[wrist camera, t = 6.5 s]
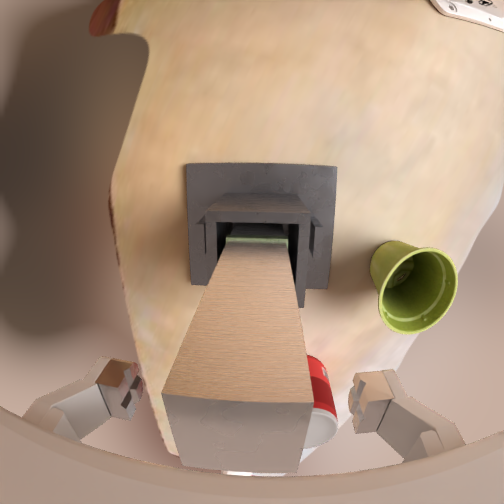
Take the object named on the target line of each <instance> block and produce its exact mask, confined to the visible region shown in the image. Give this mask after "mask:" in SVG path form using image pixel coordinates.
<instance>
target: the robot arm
mask: <svg viewBox="0 0 504 504" xmlns="http://www.w3.org/2000/svg"><path fill="white" fill-rule="evenodd" d="M430 1H431V2H432V4H433V5H434V6H435V7H436V9H437V10H438V11H439V12H440V13H442V14H443V15H446V16H450V17H454V18H459V19H463V20H466V21H470V22H474V23H477V24H481V25H484V26H487V27H490V28H493V29H496V30H499V31H502V32H504V0H430ZM138 372H139V368H138V365H137V364H136V363H135V362H130V361H125V360H119V359H115V358H109V357H104V356H102V357H100V358H99V359H98V360H97V362H96V363H95V364H94V366H93V367H92V368H91V370H90V371H89V372H88V374H87V375H86V377H85V378H84V379H83V380H78V381H76V382H73V383H71V384H69V385H67V386H65V387H62V388H60V389H58V390H56V391H54V392H51V393H49V394H47V395H44V396H42V397H40V398H38V399H36V400H35V401H34V402H33V404H32V405H31V406H30V408H29V409H28V410H27V411H26V413H25V414H24V415H23V417H20V416H18V415H16V414H14V413H12V412H10V411H8V410H6V409H4V408H3V407H1V406H0V504H504V430H502V431H499V432H497V433H495V434H493V435H490V436H488V437H485V438H483V439H480V440H478V441H475V442H473V443H470V444H467V445H466V444H465V442H464V440H463V438H462V436H461V434H460V432H459V430H458V428H457V427H456V425H455V423H453V422H452V421H450V420H448V419H447V418H445V417H443V416H442V415H440V414H438V413H437V412H435V411H434V410H432V409H430V408H429V407H427V406H425V405H424V404H422V403H421V402H419V401H417V400H416V399H414V398H413V397H407V394H406V392H405V390H404V388H403V386H402V385H401V382H400V380H399V378H398V376H397V374H396V372H395V371H394V370H393V369H391V370H382V371H373V372H361V373H356V374H355V375H354V378H353V383H354V386H353V387H352V388H351V389H350V392H349V398H348V405H349V410H350V413H352V414H353V415H354V417H353V420H352V422H353V426H354V430H355V433H356V434H357V433H369V432H377V434H378V435H379V436H381V437H382V438H383V439H384V440H385V441H386V442H387V443H388V444H389V445H390V446H391V447H392V448H393V449H394V450H395V451H396V452H398V453H399V454H400V455H401V456H402V457H403V458H404V461H403V462H402V463H401V464H396V465H391V466H386V467H381V468H375V469H368V470H362V471H354V472H347V473H337V474H326V475H313V476H285V477H271V476H242V475H229V474H218V473H209V472H200V471H193V470H186V469H180V468H174V467H169V466H164V465H159V464H154V463H150V462H145V461H141V460H137V459H132V458H129V457H125V456H121V455H118V454H114V453H111V452H107V451H104V450H101V449H98V448H94V447H92V446H89V445H86V444H83V443H81V441H80V439H82V438H83V437H85V436H86V435H88V434H89V433H91V432H92V431H93V430H95V429H96V428H98V427H99V426H100V425H102V424H103V423H105V422H106V421H107V420H109V419H110V418H111V417H115V418H119V419H124V420H129V421H130V420H131V418H132V416H133V414H134V412H135V410H136V408H135V405H134V404H135V403H137V402H139V401H140V399H141V397H142V393H143V383H142V379H141V378H140V377H139V376H138V375H137V374H138Z"/></svg>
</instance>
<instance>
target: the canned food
mask: <svg viewBox="0 0 504 504" xmlns="http://www.w3.org/2000/svg"><path fill="white" fill-rule="evenodd" d="M307 360H308V366H309V372H310V379H311V385H312V392H313V398H314V405H313V409H312V414H311V418H310V422H309V427H308V431H307V435H306V439H305V443H304V447H303V449H306V448H312V447H317V446H320V445H322V444H324V443H326V442H328V441H329V440H331V439H332V438H333V437H334V436H335V435H336V433H337V431H338V420H337V414H336V410H335V405H334V401H333V396H332V392H331V388H330V383H329V379H328V375H327V371H326V368H325V367H324V365H323V364H322V363H321V362H320V361H319V360H318V359H316V358H315V357H312V356H309V355H307Z"/></svg>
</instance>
